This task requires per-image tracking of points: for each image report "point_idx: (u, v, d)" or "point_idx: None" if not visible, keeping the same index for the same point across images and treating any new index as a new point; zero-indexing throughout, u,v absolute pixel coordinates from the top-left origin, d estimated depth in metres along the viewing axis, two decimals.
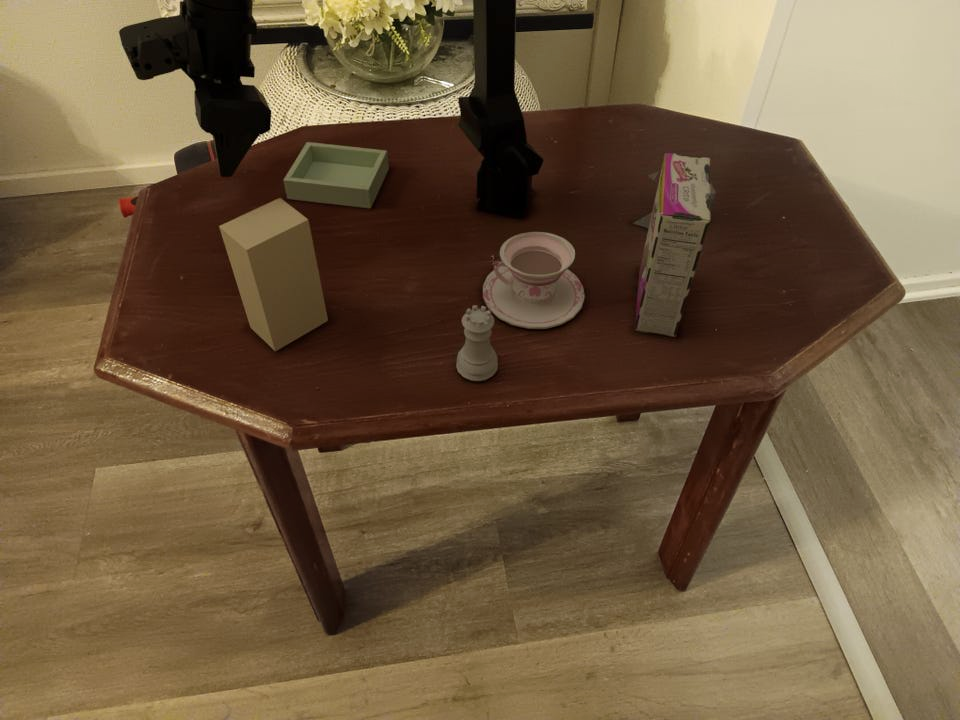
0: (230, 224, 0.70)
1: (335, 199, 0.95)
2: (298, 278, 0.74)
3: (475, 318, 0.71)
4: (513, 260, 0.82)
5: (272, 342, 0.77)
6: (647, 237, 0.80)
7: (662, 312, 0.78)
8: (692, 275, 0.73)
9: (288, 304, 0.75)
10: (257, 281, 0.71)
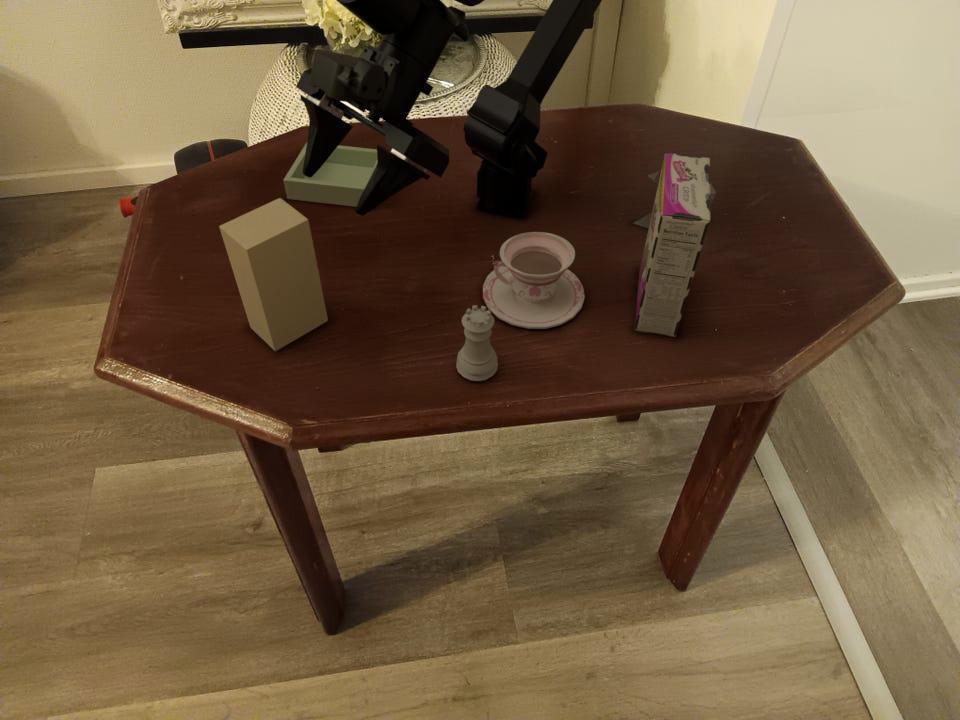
0: (230, 224, 0.70)
1: (335, 199, 0.95)
2: (298, 278, 0.74)
3: (475, 318, 0.71)
4: (513, 260, 0.82)
5: (272, 342, 0.77)
6: (647, 237, 0.80)
7: (662, 312, 0.78)
8: (692, 275, 0.73)
9: (288, 304, 0.75)
10: (257, 281, 0.71)
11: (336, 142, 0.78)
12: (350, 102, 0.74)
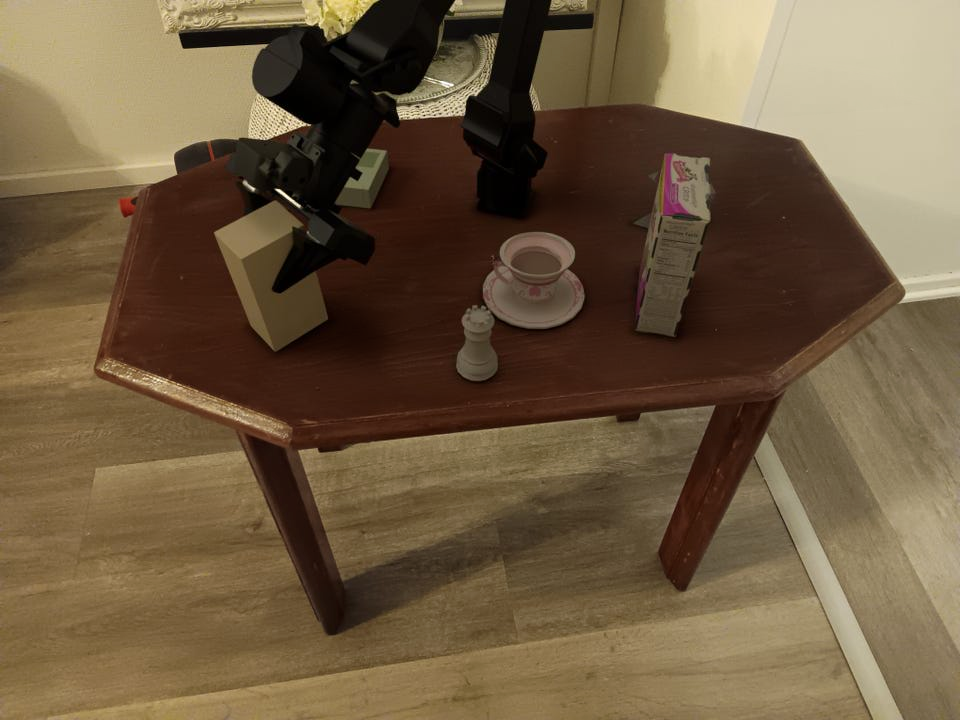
0: (225, 230, 0.69)
1: None
2: None
3: (475, 318, 0.71)
4: (513, 260, 0.82)
5: (271, 343, 0.77)
6: (647, 237, 0.80)
7: (662, 312, 0.78)
8: (692, 275, 0.73)
9: (286, 307, 0.75)
10: (254, 288, 0.70)
11: None
12: None
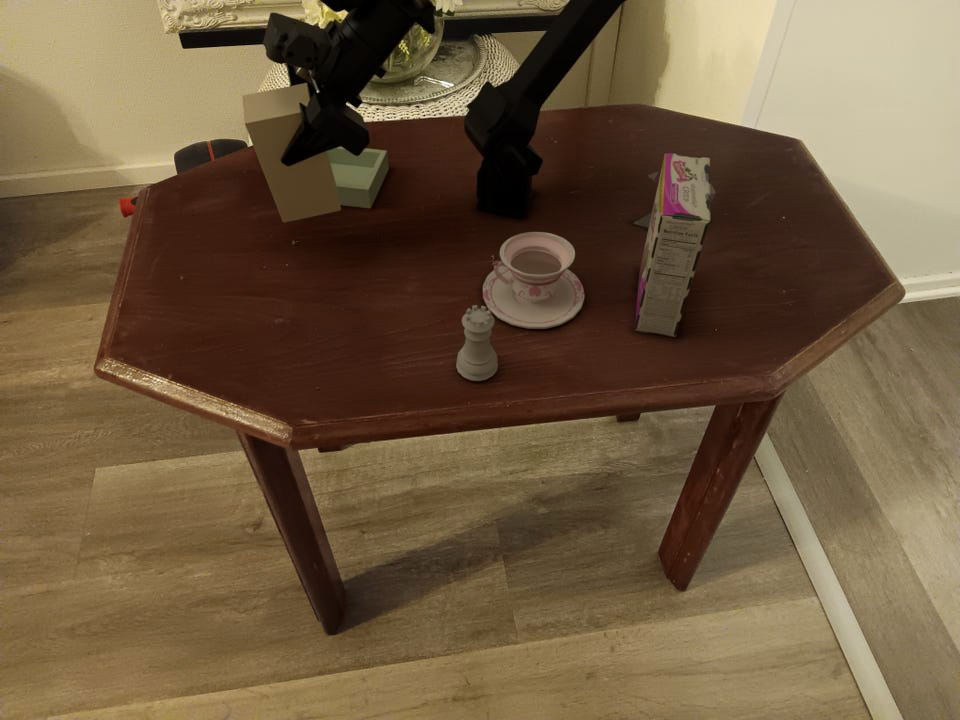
0: (251, 96, 0.76)
1: None
2: (304, 162, 0.79)
3: (475, 318, 0.71)
4: (513, 260, 0.82)
5: None
6: (647, 237, 0.80)
7: (662, 312, 0.78)
8: (692, 275, 0.73)
9: (294, 183, 0.81)
10: (259, 155, 0.77)
11: None
12: None
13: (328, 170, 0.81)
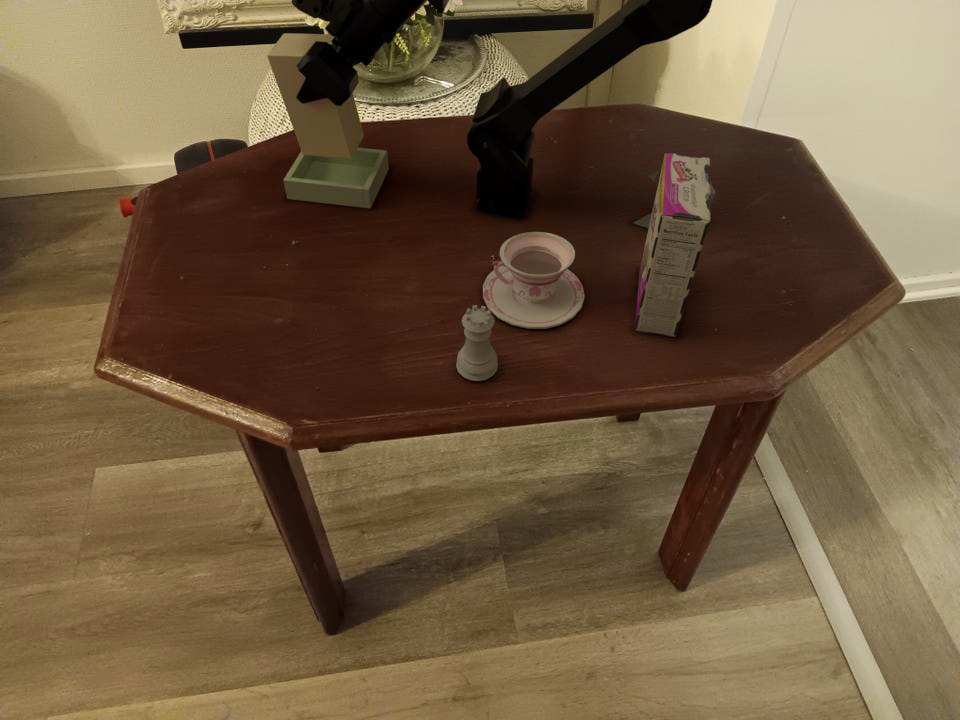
0: (289, 35, 0.86)
1: (335, 199, 0.95)
2: (317, 104, 0.88)
3: (475, 318, 0.71)
4: (513, 260, 0.82)
5: (300, 145, 0.94)
6: (647, 237, 0.80)
7: (662, 312, 0.78)
8: (692, 275, 0.73)
9: (310, 121, 0.90)
10: (279, 86, 0.87)
11: None
12: None
13: (338, 117, 0.89)
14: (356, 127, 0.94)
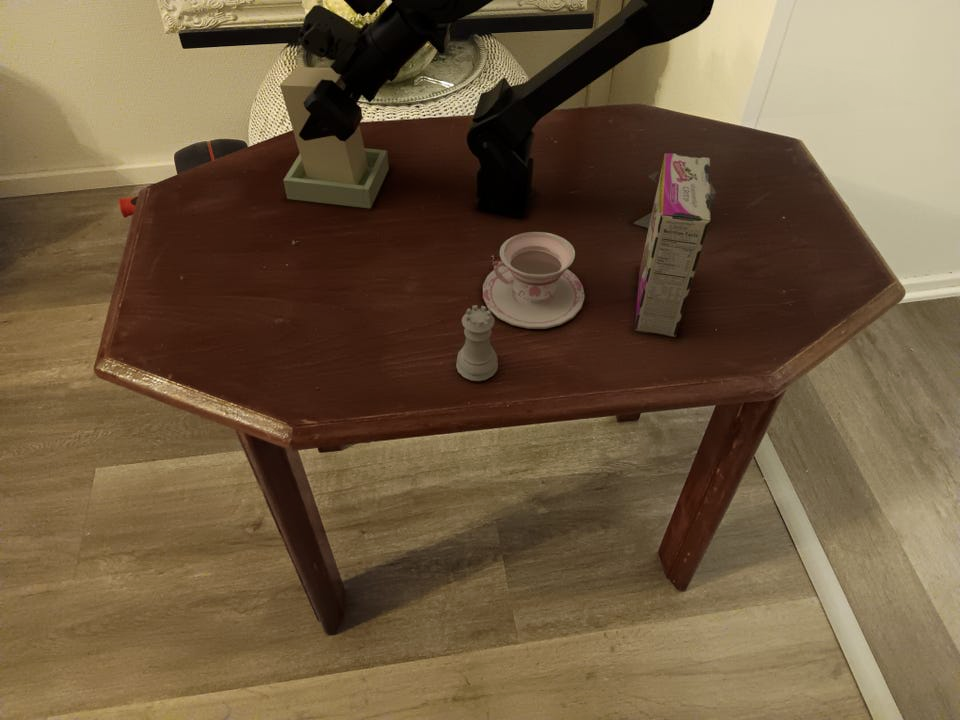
0: (301, 68, 0.91)
1: (335, 199, 0.95)
2: None
3: (475, 318, 0.71)
4: (513, 260, 0.82)
5: (306, 174, 0.98)
6: (647, 237, 0.80)
7: (662, 312, 0.78)
8: (692, 275, 0.73)
9: (317, 150, 0.94)
10: (290, 115, 0.91)
11: None
12: None
13: (345, 146, 0.92)
14: (361, 158, 0.97)
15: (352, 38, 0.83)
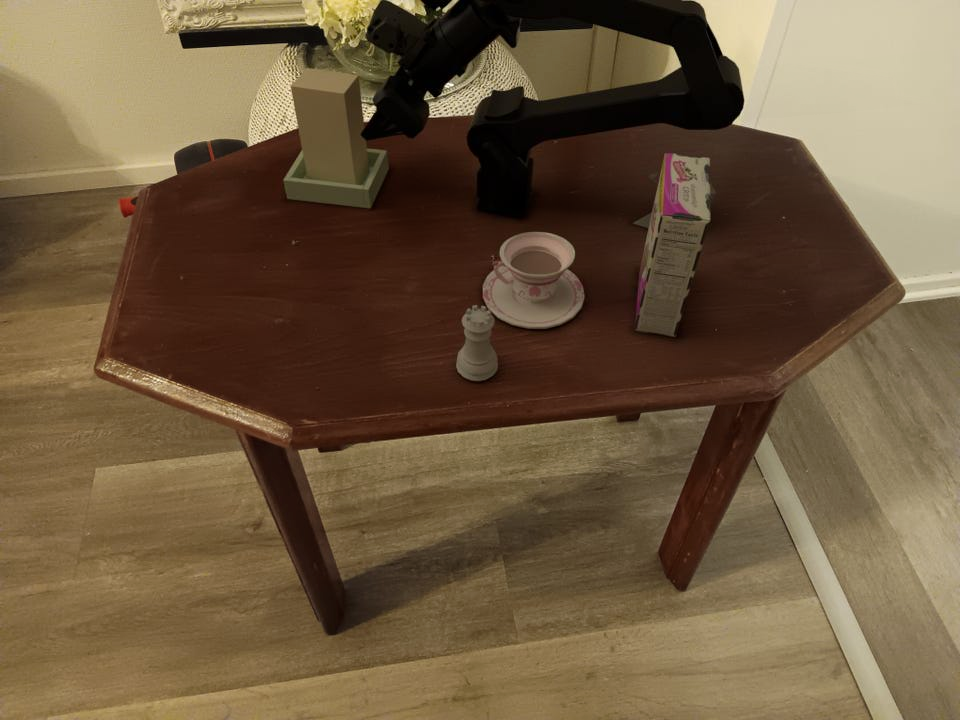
0: (312, 70, 0.91)
1: (335, 199, 0.95)
2: (332, 137, 0.92)
3: (475, 318, 0.71)
4: (513, 260, 0.82)
5: (307, 174, 0.97)
6: (647, 237, 0.80)
7: (662, 312, 0.78)
8: (692, 275, 0.73)
9: (322, 152, 0.94)
10: (297, 116, 0.91)
11: None
12: None
13: (350, 151, 0.93)
14: (364, 163, 0.98)
15: (420, 33, 0.81)
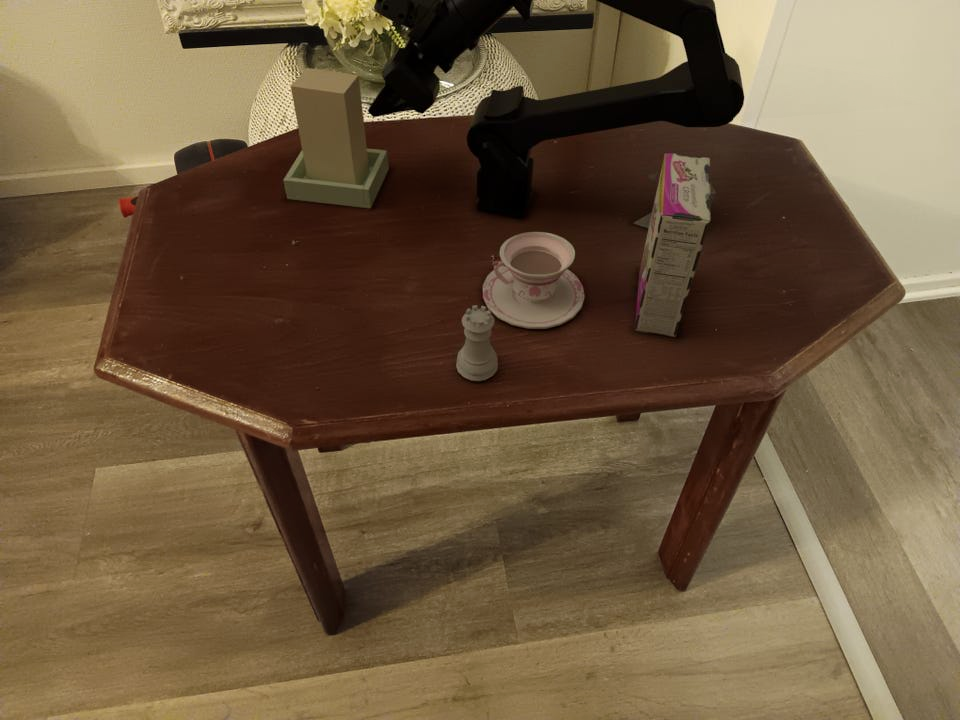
0: (312, 70, 0.91)
1: (335, 199, 0.95)
2: (332, 137, 0.92)
3: (475, 318, 0.71)
4: (513, 260, 0.82)
5: (307, 174, 0.97)
6: (647, 237, 0.80)
7: (662, 312, 0.78)
8: (692, 275, 0.73)
9: (322, 152, 0.94)
10: (297, 116, 0.91)
11: None
12: None
13: (350, 151, 0.93)
14: (364, 163, 0.98)
15: (431, 4, 0.79)
